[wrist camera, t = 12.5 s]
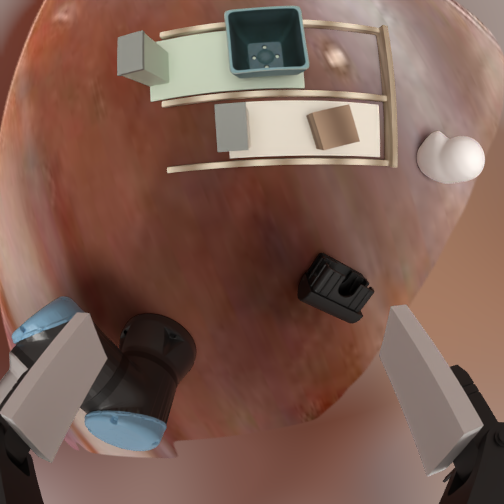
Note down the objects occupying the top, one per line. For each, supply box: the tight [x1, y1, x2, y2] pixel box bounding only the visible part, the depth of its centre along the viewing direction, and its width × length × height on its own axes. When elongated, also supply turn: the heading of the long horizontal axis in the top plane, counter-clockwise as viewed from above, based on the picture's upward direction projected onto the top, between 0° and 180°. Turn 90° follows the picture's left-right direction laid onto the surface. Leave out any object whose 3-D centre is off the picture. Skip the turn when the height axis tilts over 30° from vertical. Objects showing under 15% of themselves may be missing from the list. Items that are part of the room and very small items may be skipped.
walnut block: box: [306, 104, 360, 150], centre depth 35 cm, size 5×5×5 cm
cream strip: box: [215, 100, 380, 158], centre depth 33 cm, size 22×8×11 cm, turn 93°
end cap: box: [298, 253, 374, 323], centre depth 44 cm, size 10×7×7 cm
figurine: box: [417, 131, 485, 184], centre depth 33 cm, size 7×8×12 cm
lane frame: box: [160, 20, 397, 173], centre depth 35 cm, size 33×22×3 cm
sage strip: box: [117, 30, 305, 102], centre depth 29 cm, size 22×10×11 cm, turn 93°
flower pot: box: [224, 6, 309, 78], centre depth 30 cm, size 9×9×9 cm
